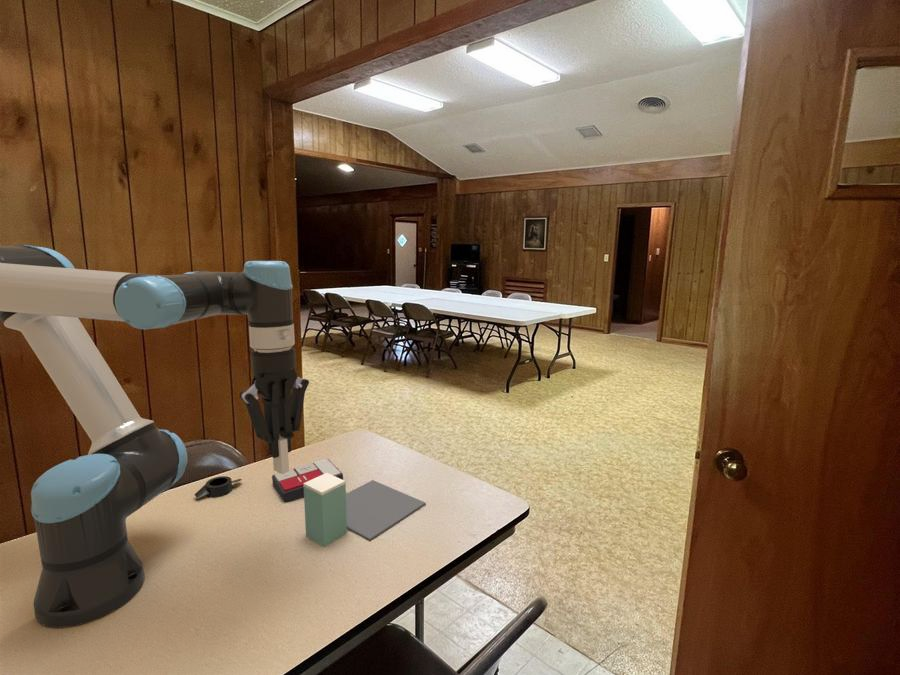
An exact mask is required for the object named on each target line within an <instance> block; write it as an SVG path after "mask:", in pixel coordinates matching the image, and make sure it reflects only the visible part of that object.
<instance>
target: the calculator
mask: <svg viewBox="0 0 900 675" xmlns="http://www.w3.org/2000/svg"><path fill="white" fill-rule="evenodd" d="M325 473H329V474H331V475H333V476H335V477H338V478H340V479H342V480H344V475H343V474H344V473H343V472H341V470H340V469H339V468H338V467H336V465H335V464H334V463H333V462H332V461H331V460H330V459H329V458H323V459H321V460H317V461H314V462H311V461H310V462H308V463H304V464H301V465H297V466H295V467H294V468H289V472H287V473H284V474H281V473H279V472H275V473H274V474H272V476H271V479H272V480H271V481H272V486H273V487H274V489H275V491H276V492H277V494H278V495H279V497H280V499H281V500H282V502H283V503H285V504H286V503H289V502H294V501H297V500H300V499H304V485H303V483H305V482H308V481H310V480H312V479H314V478H316V477H319V476H321V475H323V474H325Z"/></svg>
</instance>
